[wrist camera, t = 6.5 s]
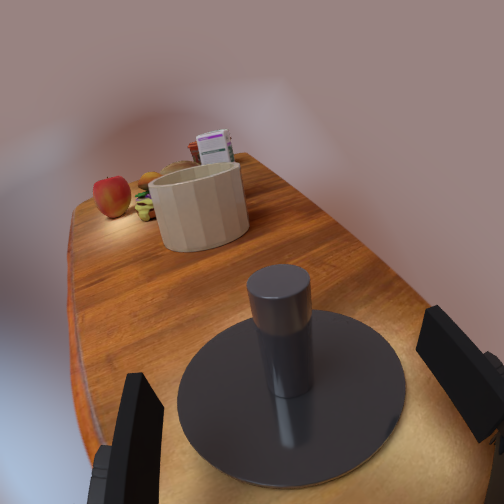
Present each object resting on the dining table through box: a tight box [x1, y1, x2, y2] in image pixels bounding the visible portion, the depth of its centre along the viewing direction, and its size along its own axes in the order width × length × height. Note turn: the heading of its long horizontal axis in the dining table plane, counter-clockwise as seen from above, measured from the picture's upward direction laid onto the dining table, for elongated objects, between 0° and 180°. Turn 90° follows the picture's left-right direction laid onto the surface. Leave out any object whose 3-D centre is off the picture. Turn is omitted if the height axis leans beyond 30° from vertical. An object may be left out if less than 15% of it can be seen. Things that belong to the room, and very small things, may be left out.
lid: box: [177, 264, 405, 489], centre depth 16 cm, size 15×15×9 cm
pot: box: [148, 162, 250, 252], centre depth 43 cm, size 14×14×10 cm
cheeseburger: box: [135, 172, 166, 221], centre depth 60 cm, size 10×11×10 cm
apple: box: [93, 176, 131, 218], centre depth 64 cm, size 10×10×10 cm
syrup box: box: [196, 129, 235, 165], centre depth 57 cm, size 6×6×14 cm
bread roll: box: [159, 161, 200, 175], centre depth 75 cm, size 10×15×8 cm, turn 107°
